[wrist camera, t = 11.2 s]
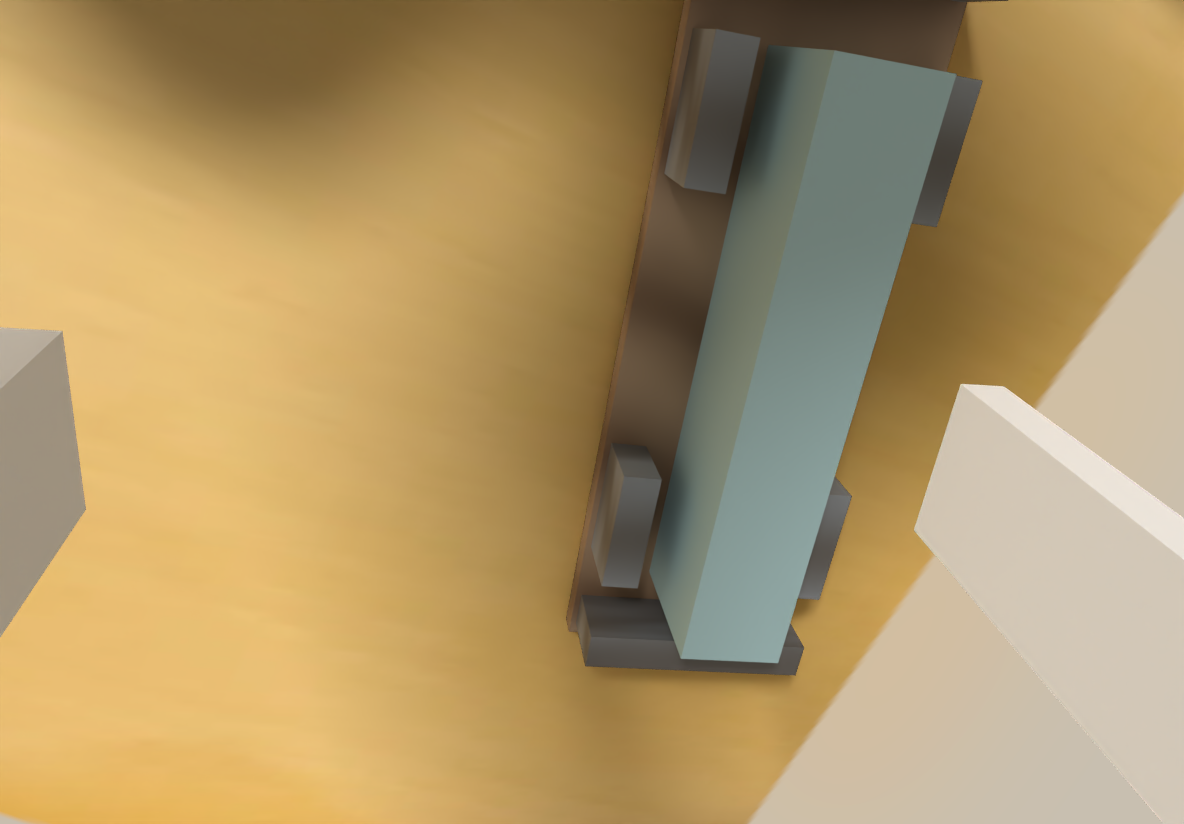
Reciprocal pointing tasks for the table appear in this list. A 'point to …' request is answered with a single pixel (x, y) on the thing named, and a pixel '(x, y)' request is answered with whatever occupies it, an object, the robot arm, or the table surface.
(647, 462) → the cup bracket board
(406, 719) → the table surface
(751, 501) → the rail
